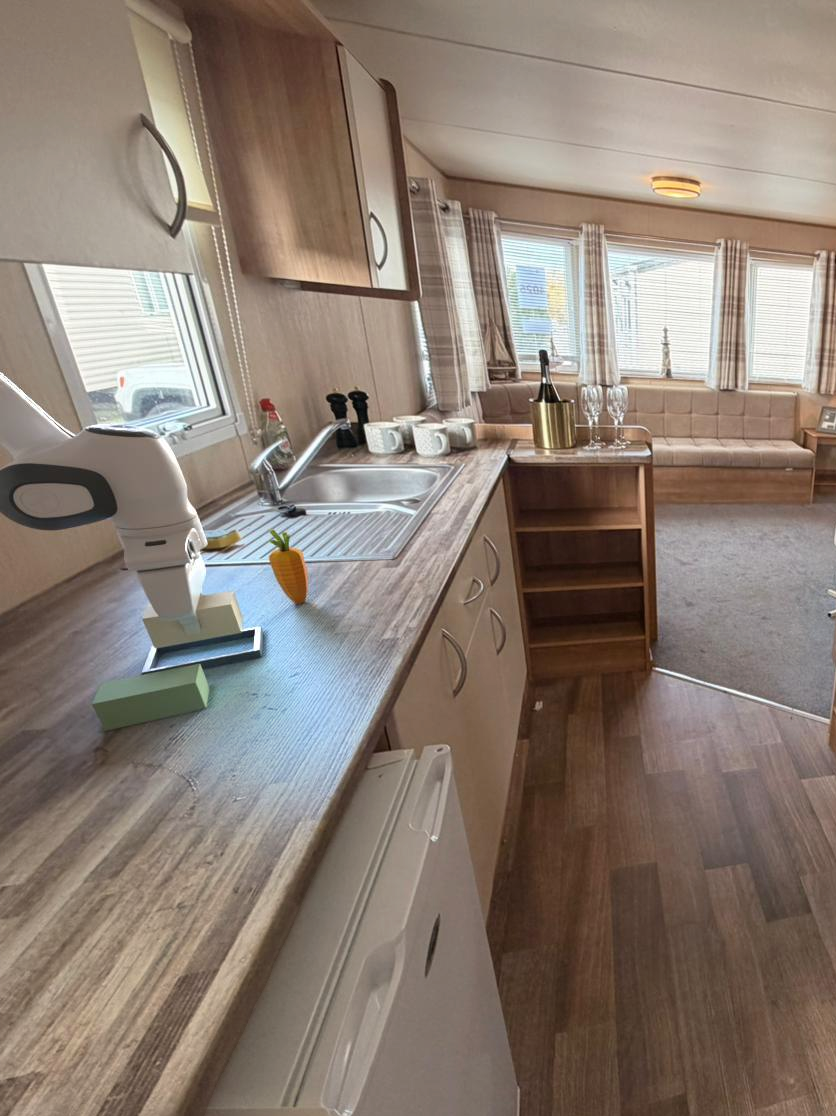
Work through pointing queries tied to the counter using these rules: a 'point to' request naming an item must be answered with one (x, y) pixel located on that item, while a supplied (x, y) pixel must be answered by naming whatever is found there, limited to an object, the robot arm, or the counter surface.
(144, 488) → the robot arm
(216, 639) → the pad tray
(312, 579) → the counter surface
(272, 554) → the carrot
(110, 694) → the sage pad
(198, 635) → the cream pad
